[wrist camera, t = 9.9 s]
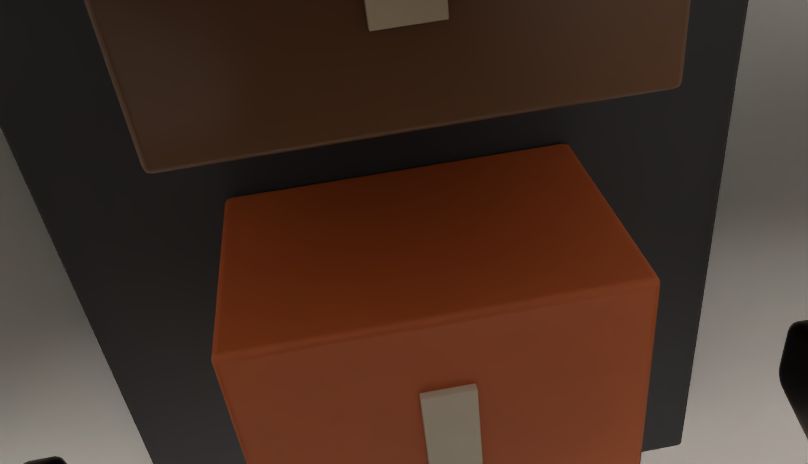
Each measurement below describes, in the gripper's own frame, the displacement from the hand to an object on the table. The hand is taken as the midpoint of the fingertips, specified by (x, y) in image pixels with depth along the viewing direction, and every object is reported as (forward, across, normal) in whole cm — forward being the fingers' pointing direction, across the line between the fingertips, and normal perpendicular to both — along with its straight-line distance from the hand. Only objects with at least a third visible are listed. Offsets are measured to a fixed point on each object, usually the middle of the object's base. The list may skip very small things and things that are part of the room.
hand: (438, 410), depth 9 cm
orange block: (+2, 0, 0) cm, 2 cm away
